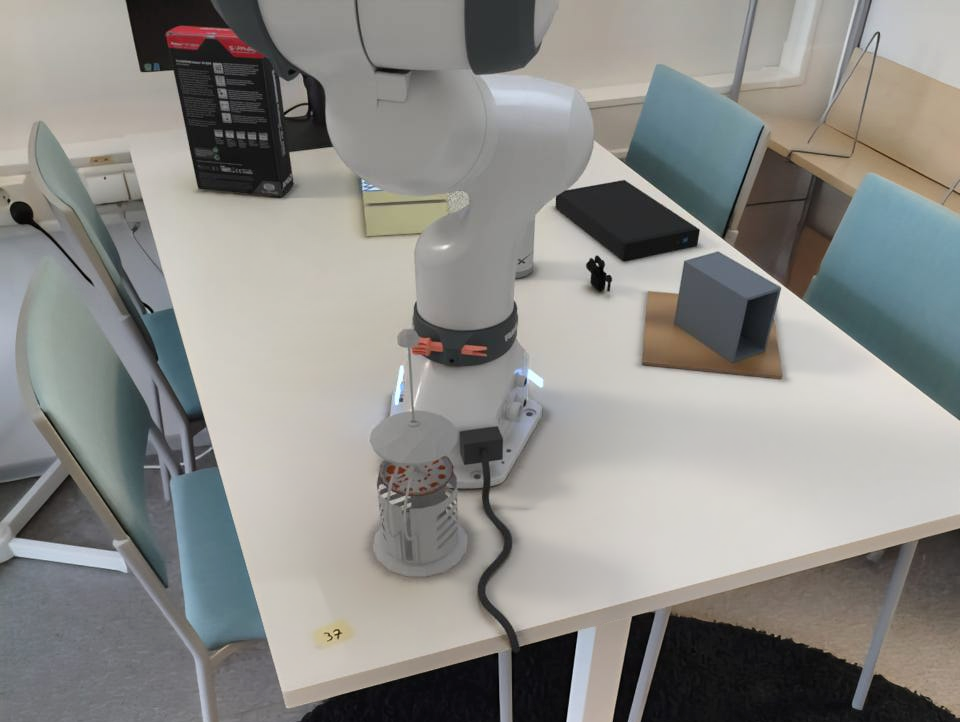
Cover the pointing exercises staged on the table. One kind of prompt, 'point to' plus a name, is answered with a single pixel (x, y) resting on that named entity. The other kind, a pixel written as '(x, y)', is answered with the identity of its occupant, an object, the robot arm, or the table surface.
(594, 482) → the table surface
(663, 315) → the cork pad
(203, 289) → the table surface
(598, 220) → the external hard drive
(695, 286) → the grey basket
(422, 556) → the french press
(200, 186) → the graphics card box
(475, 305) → the robot arm
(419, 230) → the cream box
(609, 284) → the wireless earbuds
